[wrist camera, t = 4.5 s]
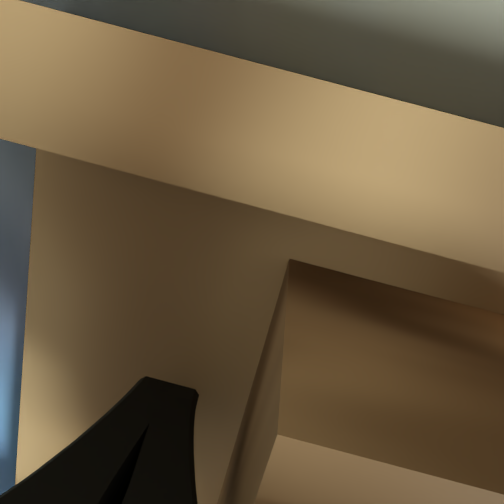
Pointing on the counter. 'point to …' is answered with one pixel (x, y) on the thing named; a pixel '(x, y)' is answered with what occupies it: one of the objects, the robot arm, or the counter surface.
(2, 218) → the counter surface
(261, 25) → the counter surface
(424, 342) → the crate
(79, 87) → the wooden base
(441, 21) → the counter surface
